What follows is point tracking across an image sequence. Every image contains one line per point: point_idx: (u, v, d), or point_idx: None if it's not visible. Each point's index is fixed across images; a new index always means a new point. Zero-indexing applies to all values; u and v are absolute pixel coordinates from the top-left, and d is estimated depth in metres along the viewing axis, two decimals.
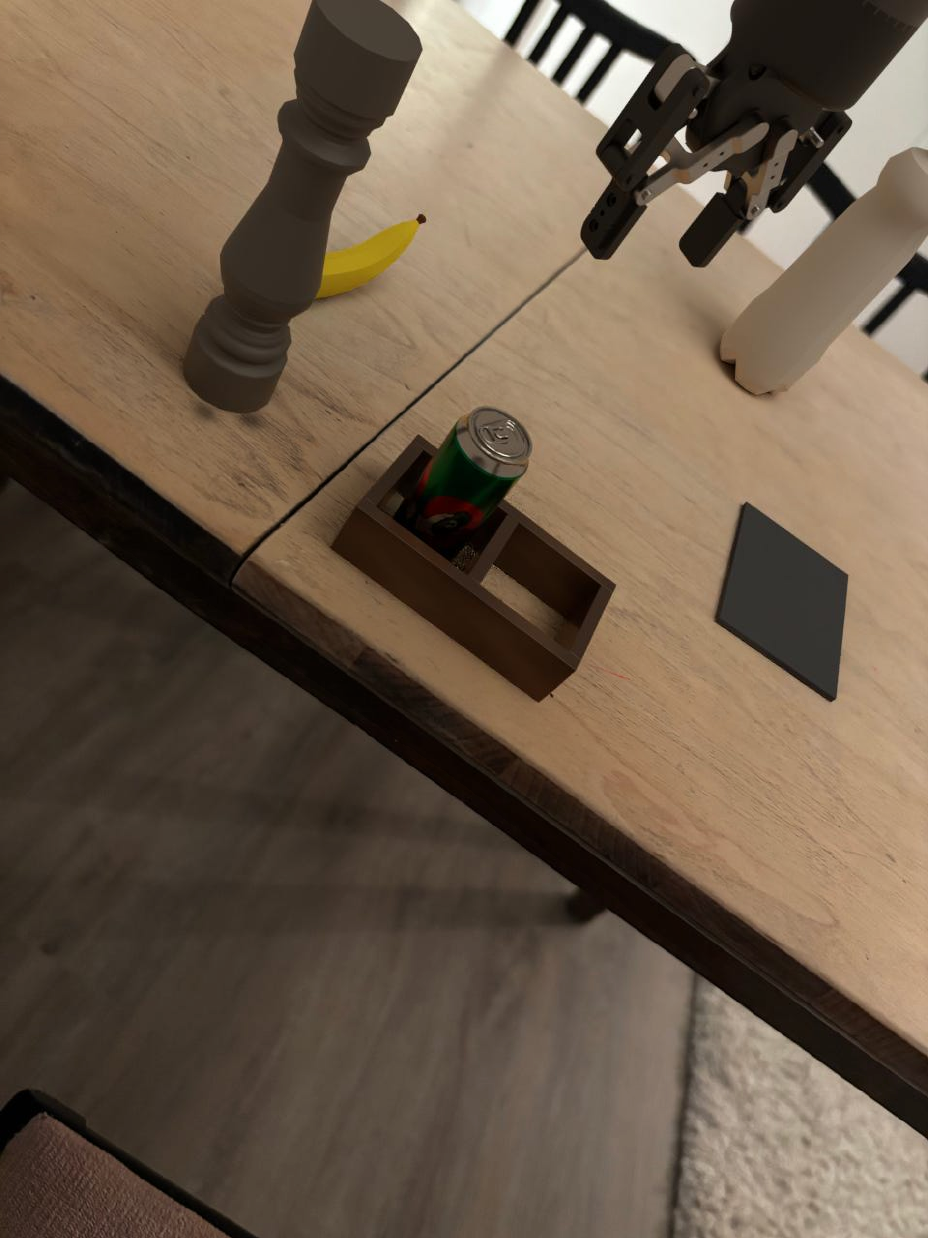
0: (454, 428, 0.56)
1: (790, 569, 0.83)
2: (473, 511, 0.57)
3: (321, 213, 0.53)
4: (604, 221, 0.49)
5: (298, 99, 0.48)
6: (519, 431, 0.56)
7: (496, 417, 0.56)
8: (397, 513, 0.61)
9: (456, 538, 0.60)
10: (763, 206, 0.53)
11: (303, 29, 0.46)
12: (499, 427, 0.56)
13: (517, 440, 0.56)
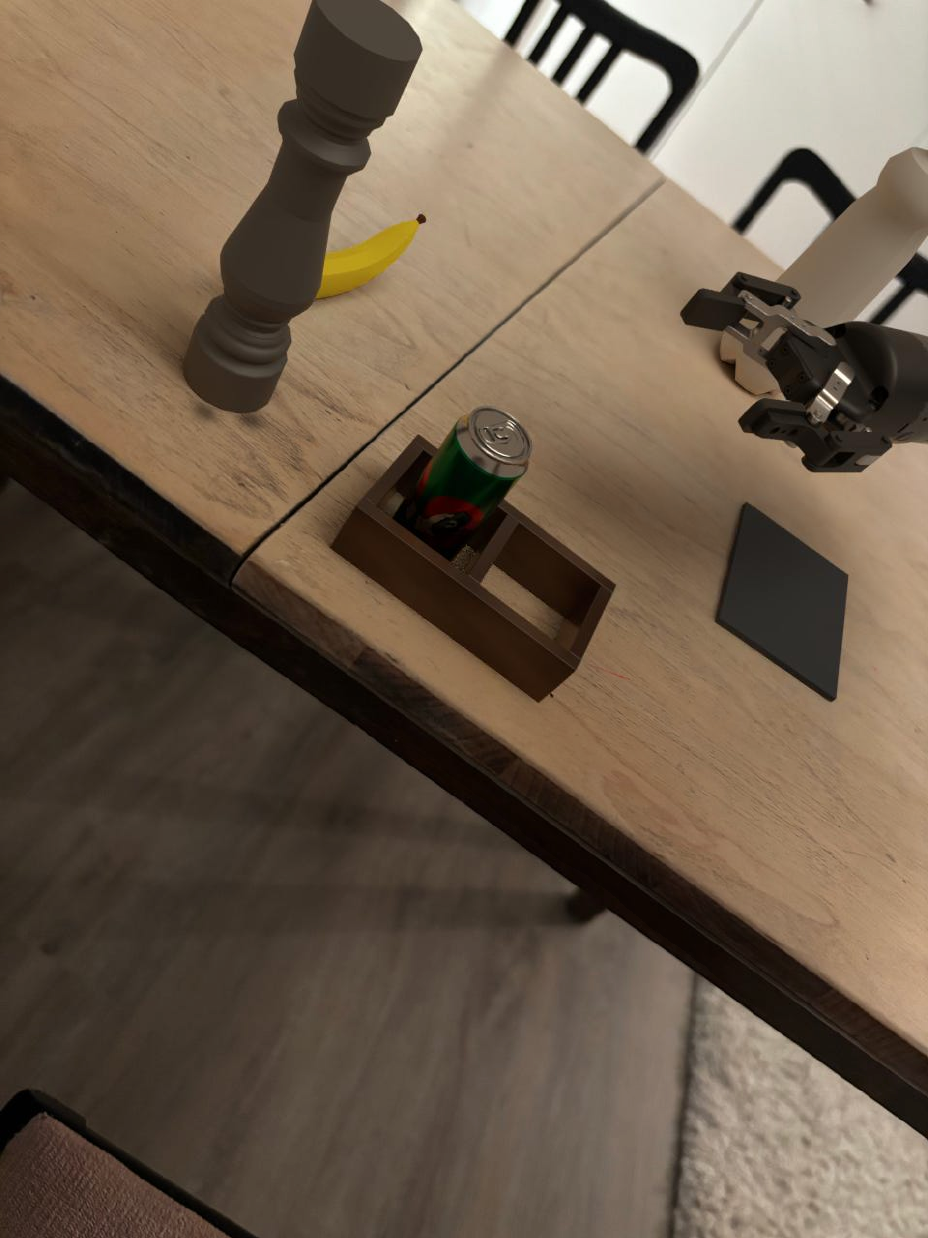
0: (454, 428, 0.56)
1: (790, 569, 0.83)
2: (473, 511, 0.57)
3: (321, 213, 0.53)
4: None
5: (298, 99, 0.48)
6: (519, 431, 0.56)
7: (496, 417, 0.56)
8: (397, 513, 0.61)
9: (456, 538, 0.60)
10: (824, 418, 0.55)
11: (303, 29, 0.46)
12: (499, 427, 0.56)
13: (517, 440, 0.56)
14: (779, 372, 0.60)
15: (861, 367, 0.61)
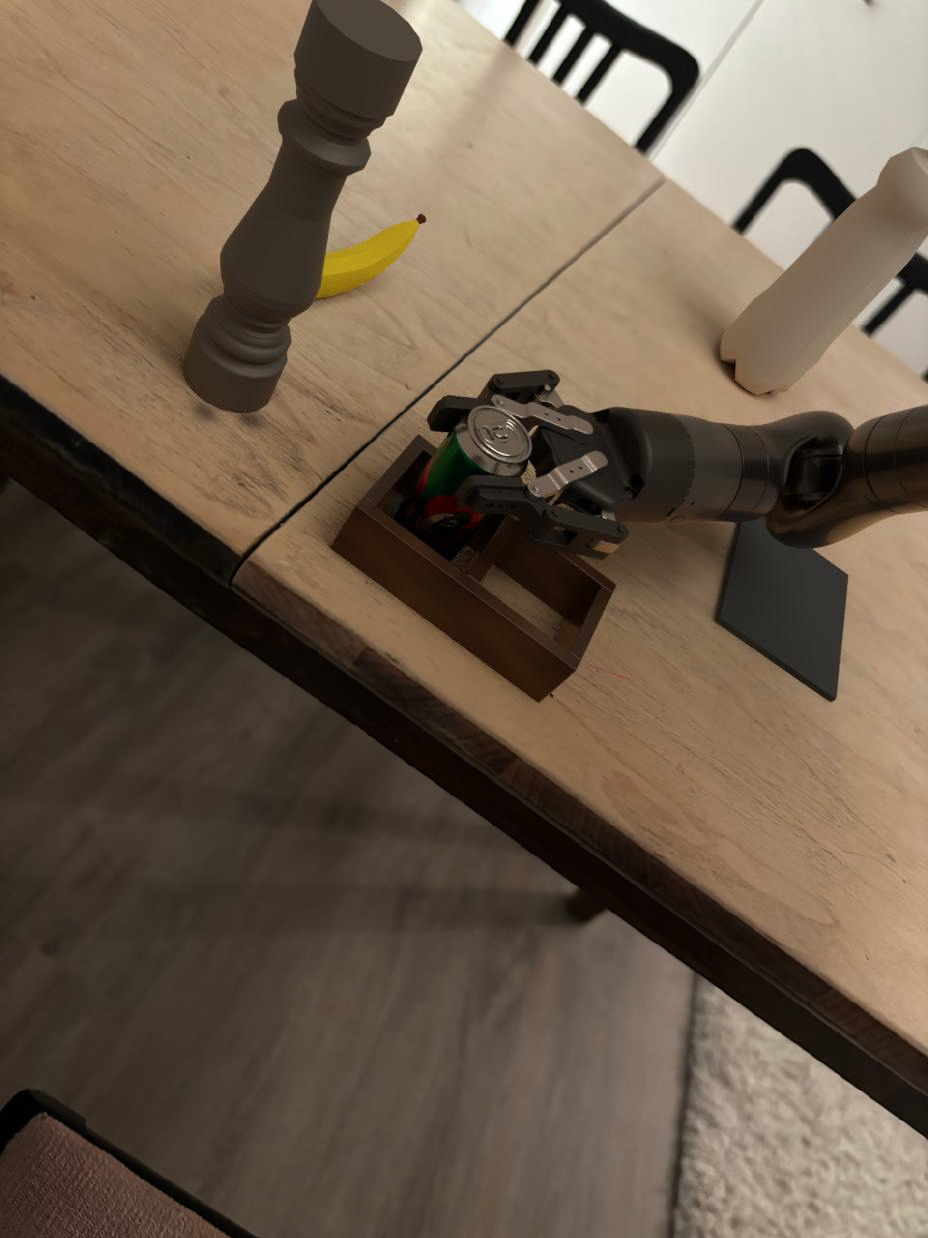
0: (454, 427, 0.56)
1: (790, 569, 0.83)
2: None
3: (321, 213, 0.53)
4: (460, 399, 0.58)
5: (298, 99, 0.48)
6: (519, 430, 0.56)
7: (495, 417, 0.56)
8: (397, 513, 0.61)
9: (456, 538, 0.60)
10: (543, 492, 0.56)
11: (303, 29, 0.46)
12: (499, 426, 0.56)
13: (516, 439, 0.56)
14: (536, 460, 0.60)
15: (621, 454, 0.61)
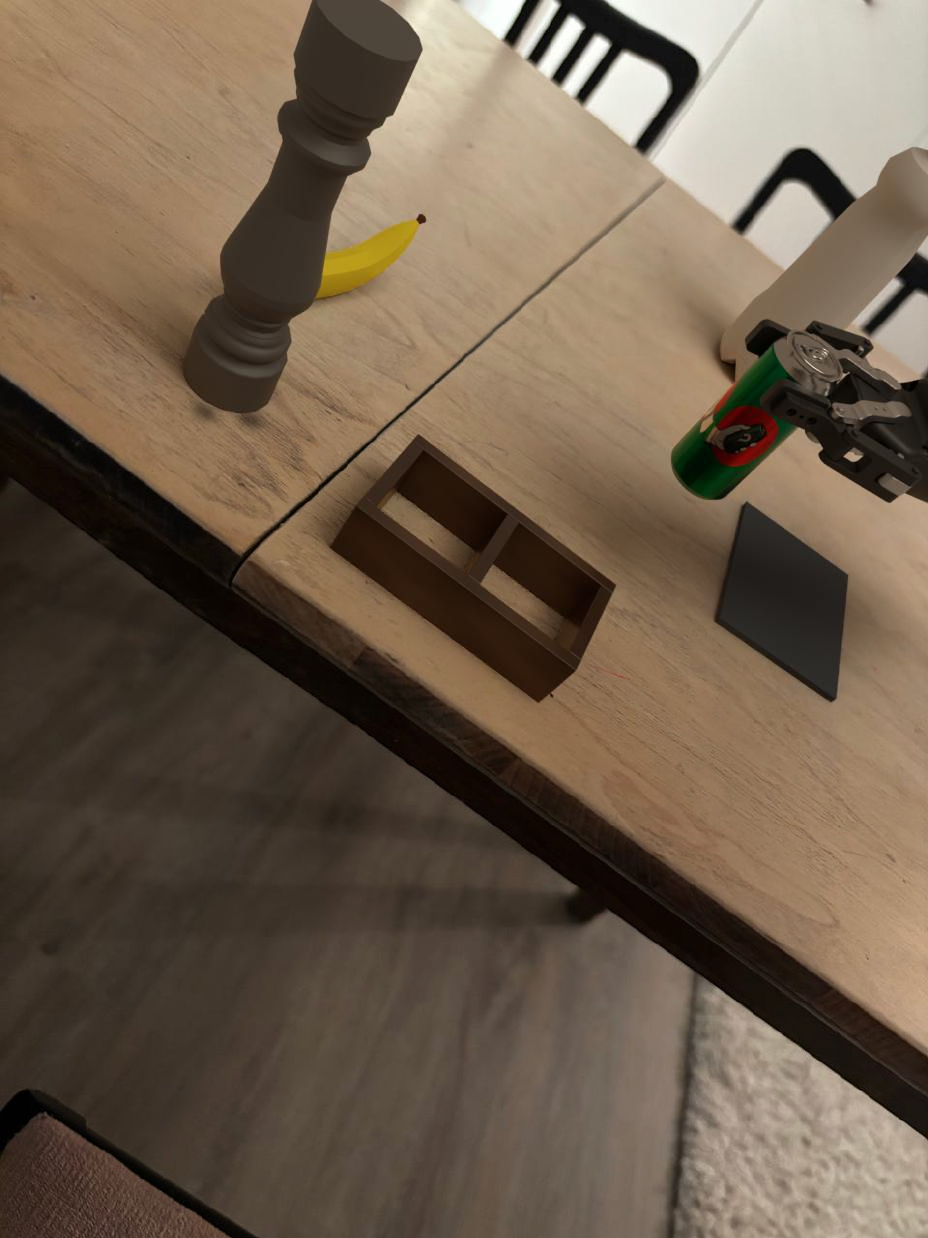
0: (772, 342, 0.59)
1: (790, 569, 0.83)
2: (770, 426, 0.60)
3: (321, 213, 0.53)
4: None
5: (298, 99, 0.48)
6: (833, 360, 0.59)
7: (813, 342, 0.59)
8: (690, 431, 0.65)
9: (744, 457, 0.62)
10: (846, 415, 0.58)
11: (303, 29, 0.46)
12: (815, 350, 0.59)
13: (829, 366, 0.59)
14: None
15: (924, 418, 0.62)
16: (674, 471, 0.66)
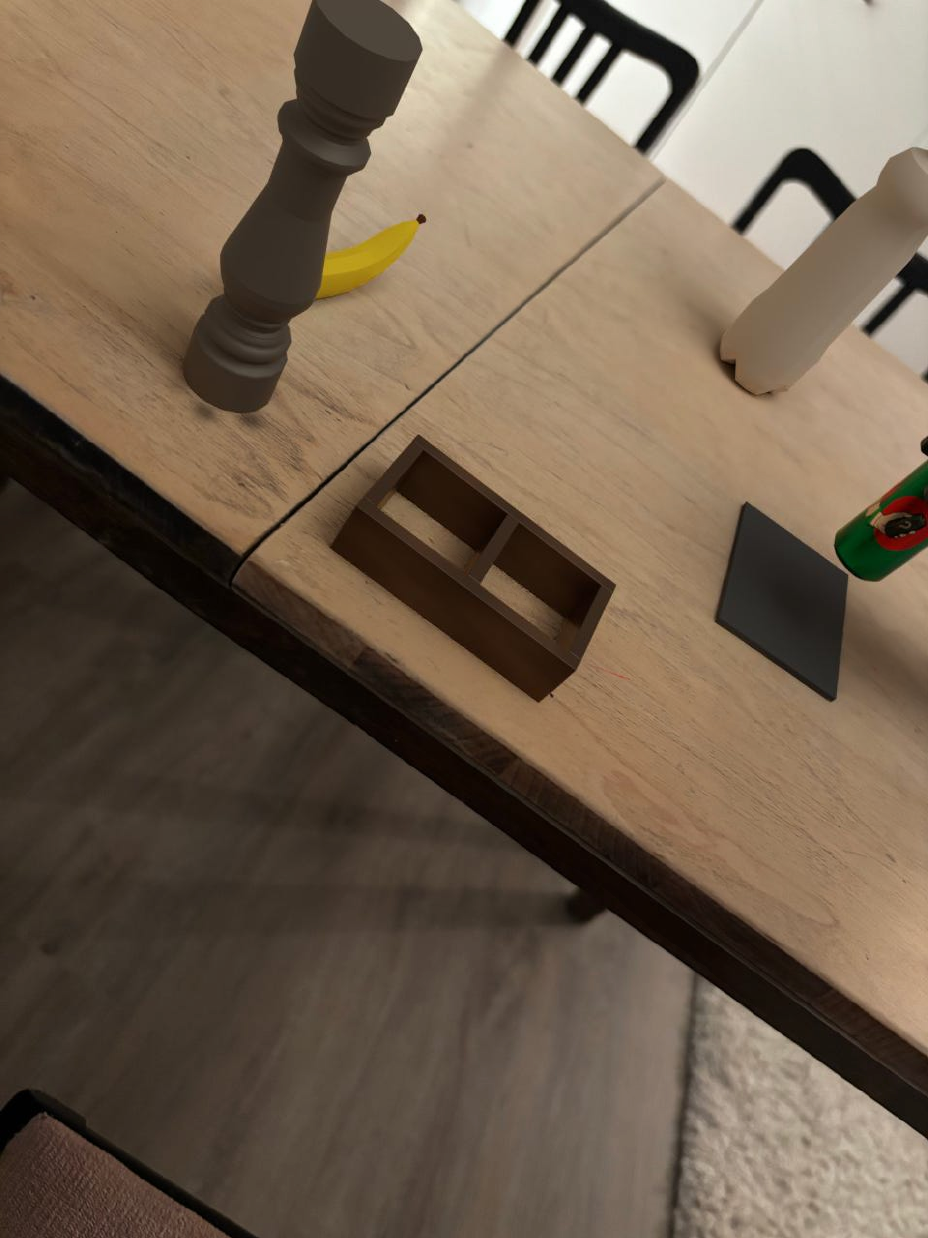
0: None
1: (790, 569, 0.83)
2: None
3: (321, 213, 0.53)
4: None
5: (298, 99, 0.48)
6: None
7: None
8: (857, 515, 0.73)
9: (902, 543, 0.69)
10: None
11: (303, 29, 0.46)
12: None
13: None
14: None
15: None
16: (835, 548, 0.73)
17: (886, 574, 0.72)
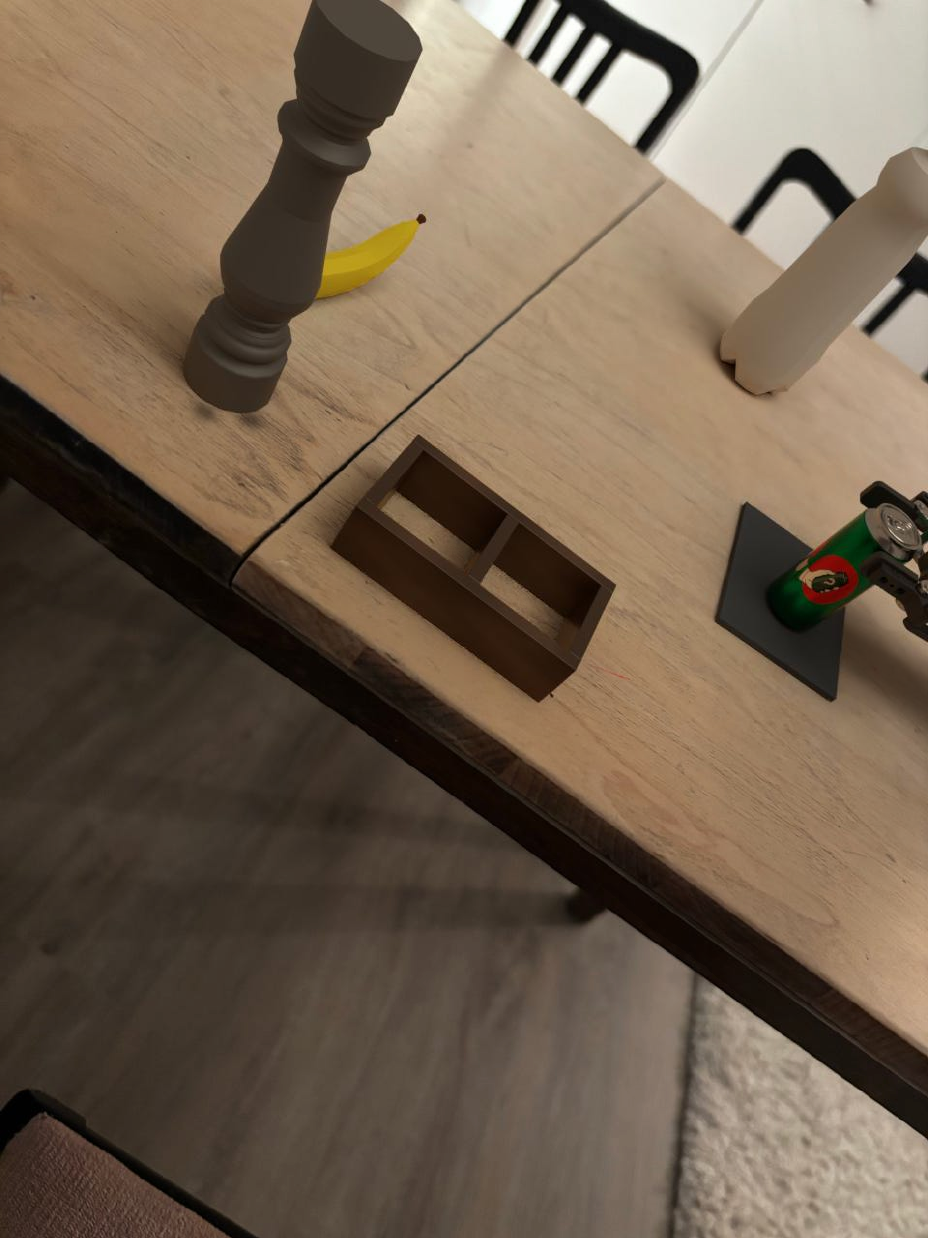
0: None
1: None
2: (851, 576, 0.73)
3: (321, 213, 0.53)
4: None
5: (298, 99, 0.48)
6: (915, 533, 0.72)
7: (900, 516, 0.72)
8: (788, 569, 0.78)
9: (827, 597, 0.75)
10: None
11: (303, 29, 0.46)
12: (900, 522, 0.72)
13: (910, 537, 0.72)
14: (924, 566, 0.74)
15: None
16: (769, 599, 0.79)
17: (815, 624, 0.78)
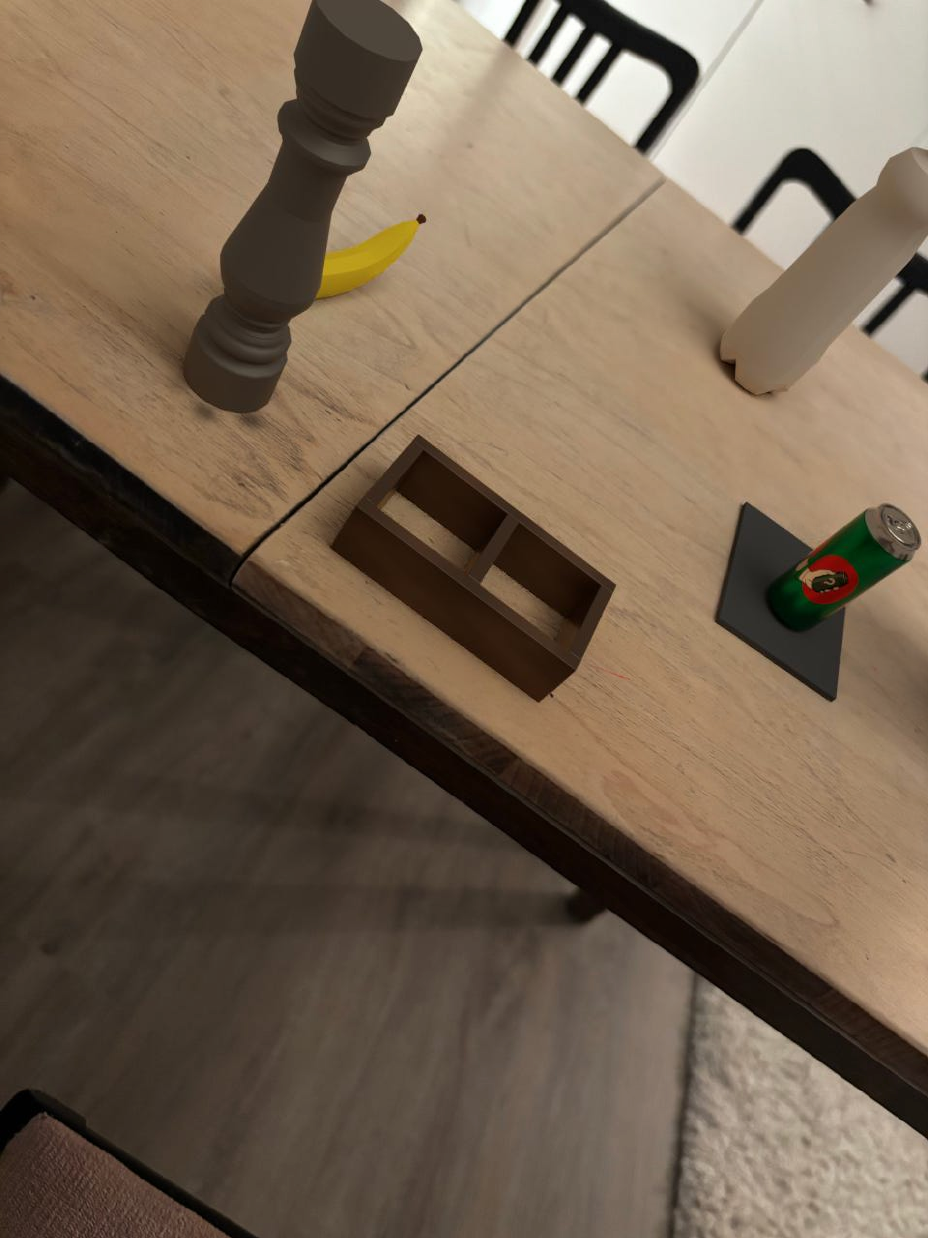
0: None
1: None
2: (851, 575, 0.73)
3: (321, 213, 0.53)
4: None
5: (298, 99, 0.48)
6: (915, 533, 0.72)
7: (900, 516, 0.72)
8: (788, 569, 0.78)
9: (827, 597, 0.75)
10: None
11: (303, 29, 0.46)
12: (900, 522, 0.72)
13: (910, 537, 0.72)
14: None
15: None
16: (769, 599, 0.79)
17: (815, 624, 0.78)
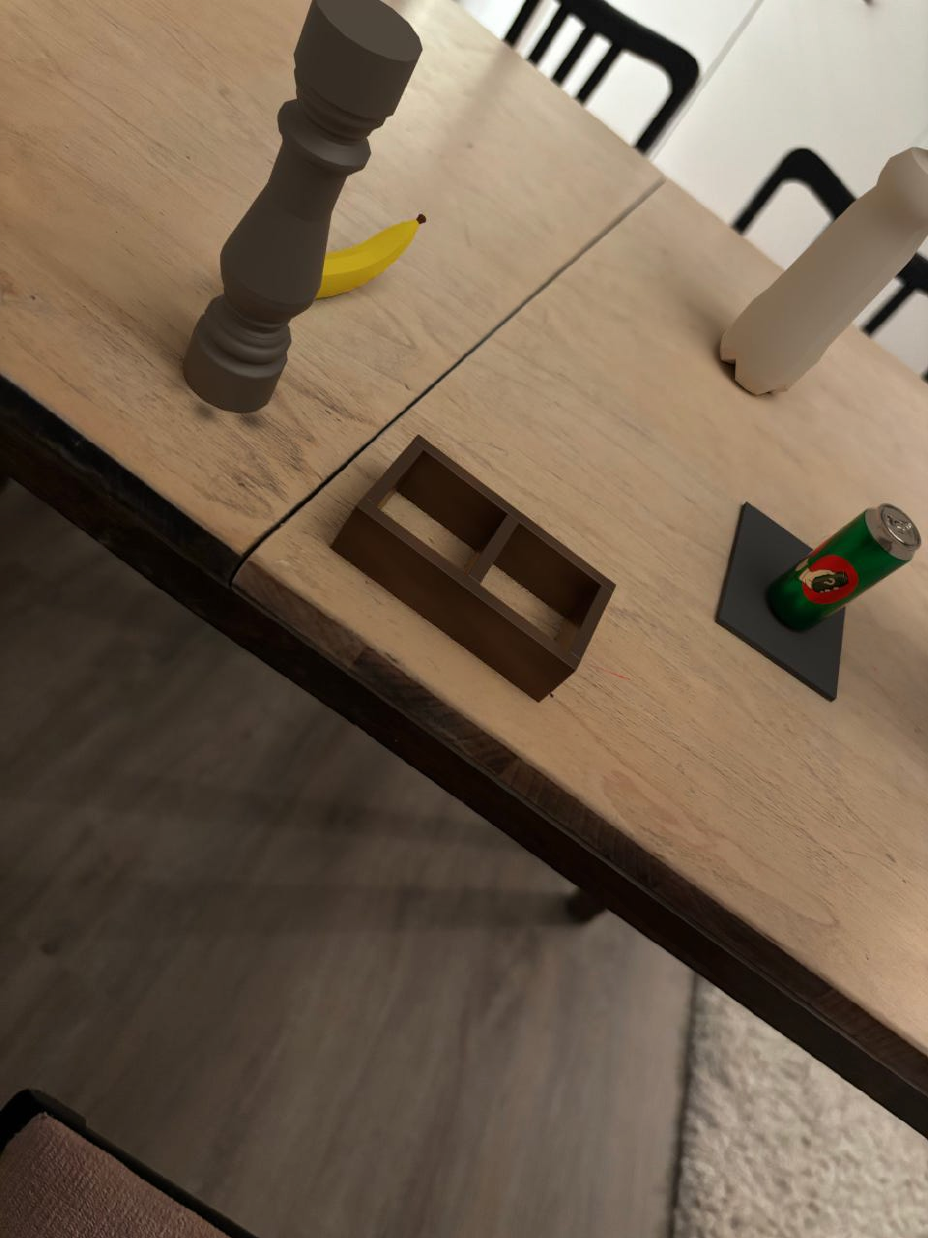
0: None
1: None
2: (851, 575, 0.73)
3: (321, 213, 0.53)
4: None
5: (298, 99, 0.48)
6: (915, 533, 0.72)
7: (901, 516, 0.72)
8: (788, 569, 0.78)
9: (827, 597, 0.75)
10: None
11: (303, 29, 0.46)
12: (900, 522, 0.72)
13: (910, 537, 0.72)
14: None
15: None
16: (769, 599, 0.79)
17: (815, 624, 0.78)
